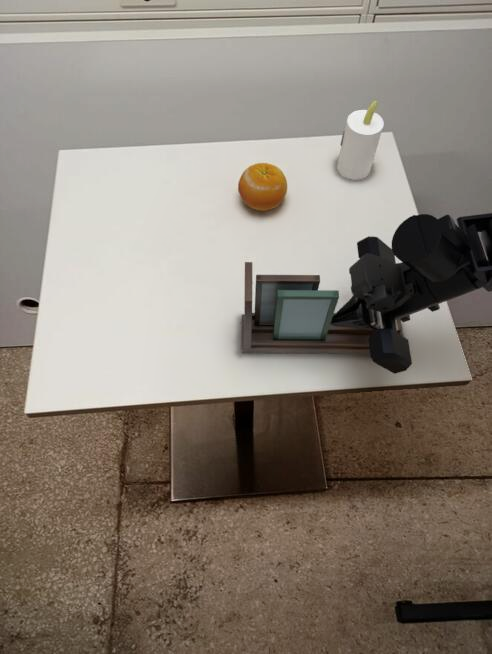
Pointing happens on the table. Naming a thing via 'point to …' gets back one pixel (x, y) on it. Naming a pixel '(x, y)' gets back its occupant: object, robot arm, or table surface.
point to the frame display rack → (262, 321)
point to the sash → (303, 314)
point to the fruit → (262, 186)
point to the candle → (359, 143)
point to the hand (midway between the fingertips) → (331, 322)
